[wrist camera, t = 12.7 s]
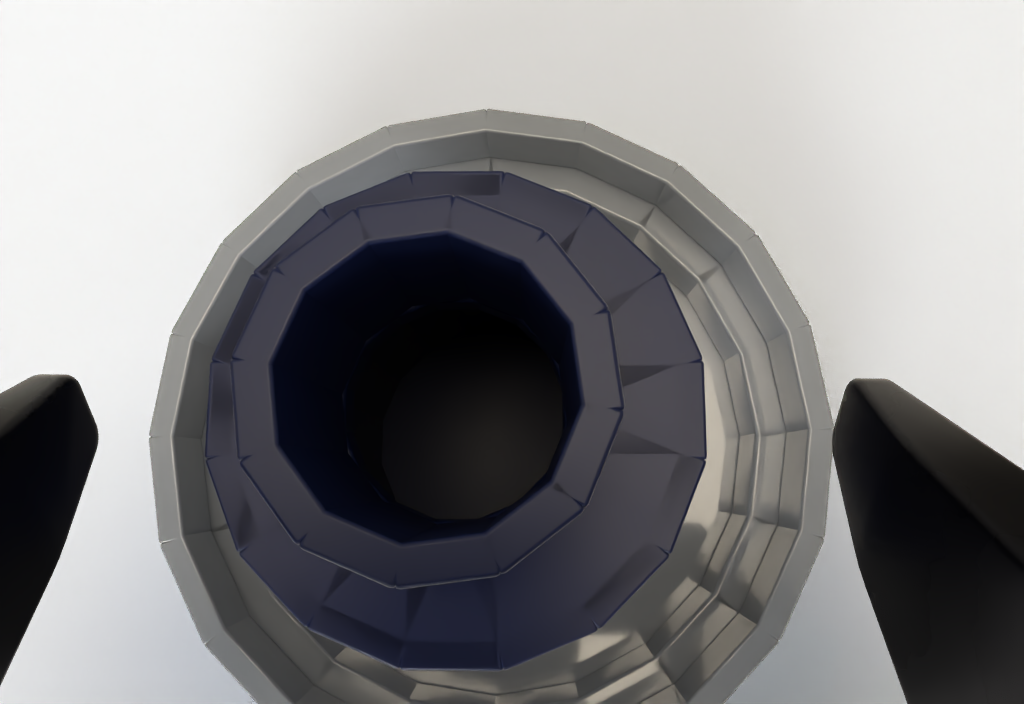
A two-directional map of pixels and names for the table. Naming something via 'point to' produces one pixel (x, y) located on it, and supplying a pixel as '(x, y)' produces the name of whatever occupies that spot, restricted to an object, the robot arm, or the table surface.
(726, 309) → the steel dish
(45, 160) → the table surface
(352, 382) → the dark blue vase
